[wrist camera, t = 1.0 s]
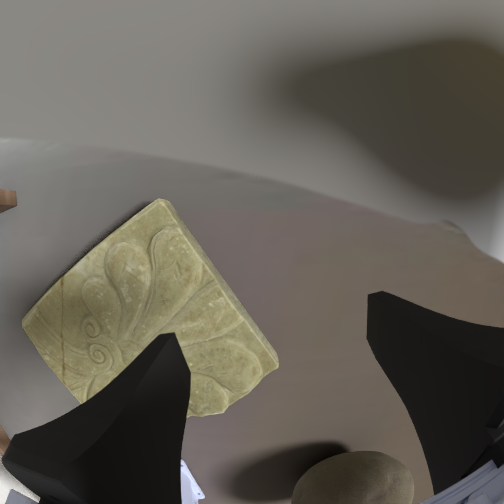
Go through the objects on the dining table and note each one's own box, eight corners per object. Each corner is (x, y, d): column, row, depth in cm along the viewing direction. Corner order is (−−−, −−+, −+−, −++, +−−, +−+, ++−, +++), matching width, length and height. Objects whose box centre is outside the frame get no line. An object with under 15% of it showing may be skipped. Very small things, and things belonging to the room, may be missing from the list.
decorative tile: (30, 314, 23) (12, 324, 19) (167, 196, 24) (159, 192, 20) (137, 437, 26) (131, 457, 22) (281, 355, 27) (290, 372, 23)
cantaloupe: (344, 488, 31) (381, 551, 16) (264, 488, 28) (287, 571, 14) (393, 426, 30) (452, 488, 15) (311, 420, 28) (365, 515, 13)
